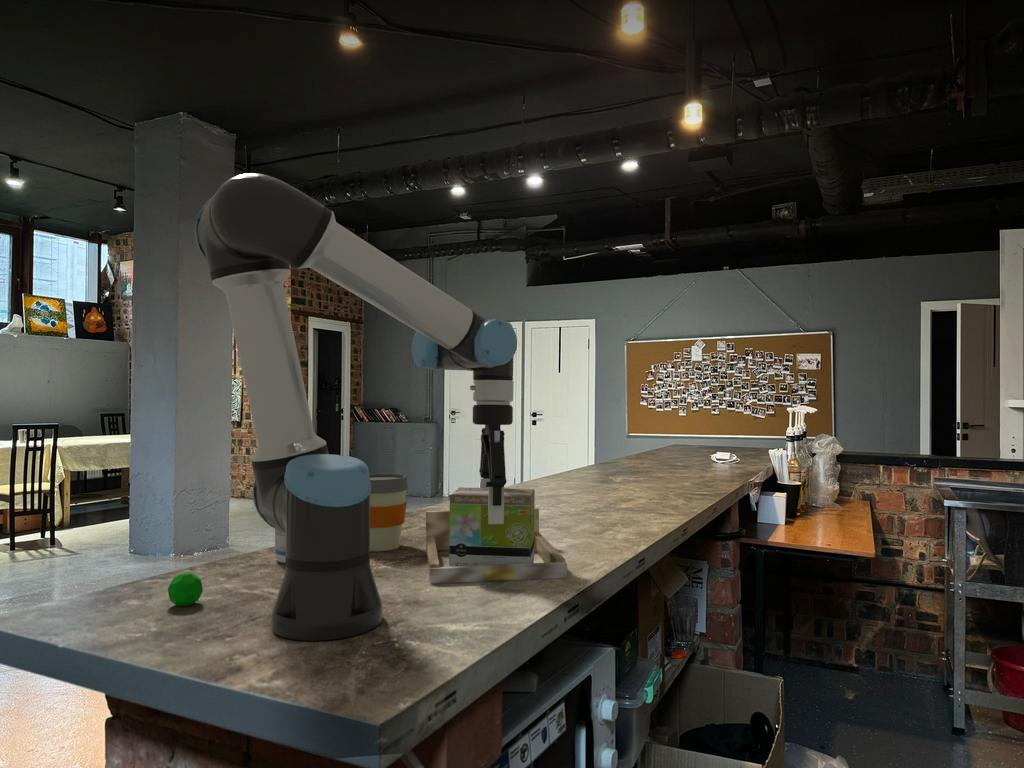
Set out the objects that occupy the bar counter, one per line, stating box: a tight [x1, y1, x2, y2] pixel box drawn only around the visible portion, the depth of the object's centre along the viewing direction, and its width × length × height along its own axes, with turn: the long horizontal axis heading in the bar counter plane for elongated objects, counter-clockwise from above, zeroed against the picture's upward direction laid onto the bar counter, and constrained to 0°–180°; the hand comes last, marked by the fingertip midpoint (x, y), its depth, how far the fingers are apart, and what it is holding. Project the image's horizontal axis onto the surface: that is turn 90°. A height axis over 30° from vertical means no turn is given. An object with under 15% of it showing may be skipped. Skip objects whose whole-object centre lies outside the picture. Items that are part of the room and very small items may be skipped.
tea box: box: [448, 486, 536, 567], centre depth 131 cm, size 15×10×15 cm
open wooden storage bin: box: [425, 507, 568, 585], centre depth 136 cm, size 24×28×8 cm
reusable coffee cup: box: [369, 473, 409, 552], centre depth 151 cm, size 13×13×15 cm
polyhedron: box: [167, 572, 204, 607], centre depth 109 cm, size 5×5×5 cm
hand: (491, 517), depth 131 cm, fingers open, 13 cm apart
